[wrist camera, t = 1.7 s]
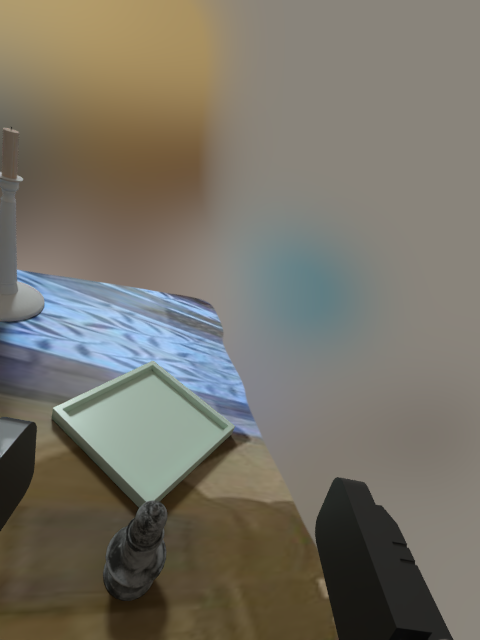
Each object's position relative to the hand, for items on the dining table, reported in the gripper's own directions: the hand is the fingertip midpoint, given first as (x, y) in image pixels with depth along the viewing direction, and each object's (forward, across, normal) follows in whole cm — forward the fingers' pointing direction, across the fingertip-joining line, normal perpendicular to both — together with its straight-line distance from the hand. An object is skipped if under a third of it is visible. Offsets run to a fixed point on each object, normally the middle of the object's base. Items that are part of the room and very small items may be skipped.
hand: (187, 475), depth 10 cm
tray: (+37, -5, -29) cm, 47 cm away
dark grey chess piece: (+18, -2, -32) cm, 37 cm away
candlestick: (+56, -36, -23) cm, 71 cm away
